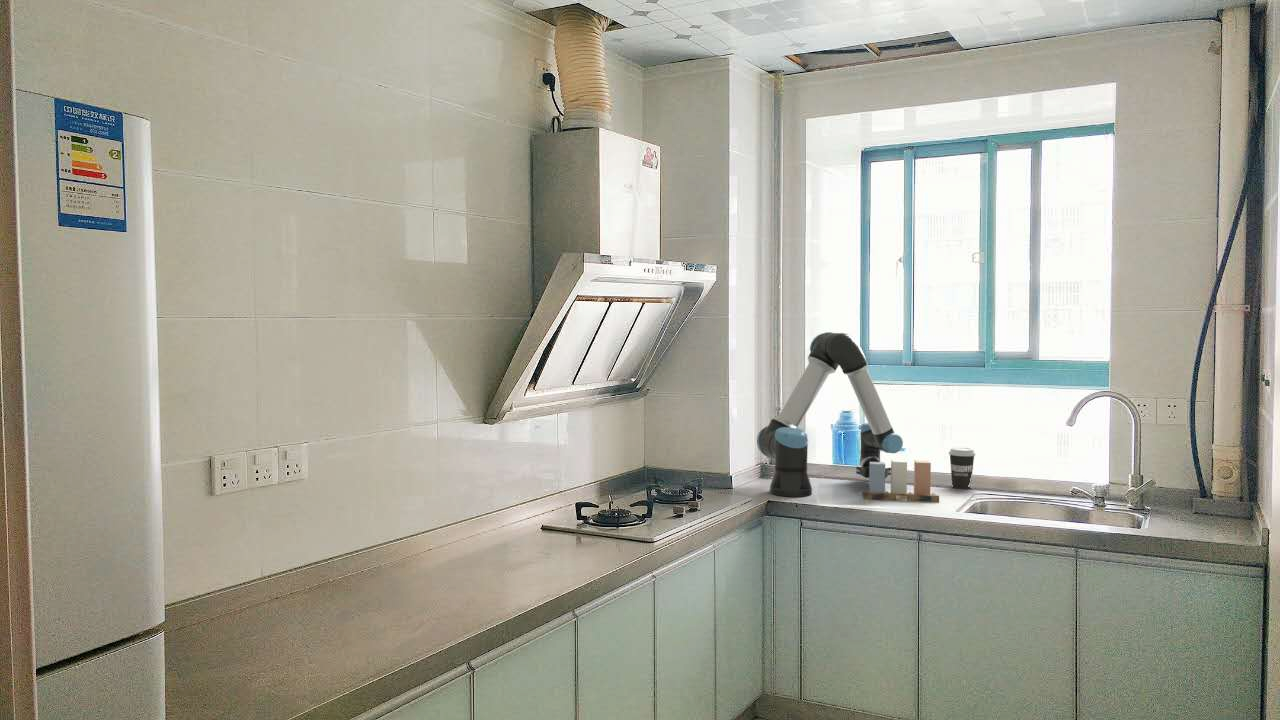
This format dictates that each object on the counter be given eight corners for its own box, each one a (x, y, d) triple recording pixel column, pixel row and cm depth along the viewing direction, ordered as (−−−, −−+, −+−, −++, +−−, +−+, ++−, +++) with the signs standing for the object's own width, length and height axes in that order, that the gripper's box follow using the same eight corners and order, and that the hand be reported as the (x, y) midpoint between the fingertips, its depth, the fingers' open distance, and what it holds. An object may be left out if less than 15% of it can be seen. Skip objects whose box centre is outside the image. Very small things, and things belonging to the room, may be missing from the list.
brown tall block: (915, 496, 319) (916, 462, 318) (913, 493, 324) (914, 460, 323) (930, 496, 318) (930, 463, 317) (928, 494, 323) (928, 460, 322)
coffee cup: (942, 487, 342) (943, 447, 342) (961, 485, 346) (962, 446, 346) (961, 491, 334) (961, 451, 333) (980, 489, 338) (981, 449, 337)
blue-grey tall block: (870, 497, 316) (870, 463, 315) (869, 495, 320) (869, 461, 320) (884, 498, 315) (885, 464, 314) (883, 495, 320) (884, 462, 319)
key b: (892, 495, 320) (892, 461, 320) (890, 492, 325) (891, 459, 325) (906, 495, 319) (907, 462, 319) (905, 493, 324) (905, 460, 324)
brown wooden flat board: (864, 501, 315) (864, 493, 314) (861, 493, 330) (861, 485, 329) (939, 504, 310) (939, 495, 310) (933, 496, 325) (933, 487, 325)
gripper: (889, 477, 342) (896, 489, 319) (854, 476, 344) (858, 488, 321) (889, 458, 342) (896, 468, 319) (854, 457, 344) (858, 467, 321)
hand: (877, 478), depth 320 cm, fingers closed
